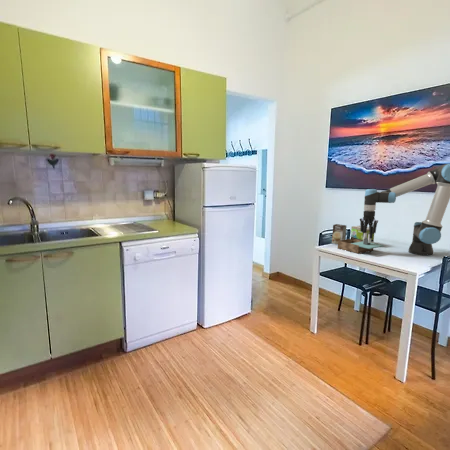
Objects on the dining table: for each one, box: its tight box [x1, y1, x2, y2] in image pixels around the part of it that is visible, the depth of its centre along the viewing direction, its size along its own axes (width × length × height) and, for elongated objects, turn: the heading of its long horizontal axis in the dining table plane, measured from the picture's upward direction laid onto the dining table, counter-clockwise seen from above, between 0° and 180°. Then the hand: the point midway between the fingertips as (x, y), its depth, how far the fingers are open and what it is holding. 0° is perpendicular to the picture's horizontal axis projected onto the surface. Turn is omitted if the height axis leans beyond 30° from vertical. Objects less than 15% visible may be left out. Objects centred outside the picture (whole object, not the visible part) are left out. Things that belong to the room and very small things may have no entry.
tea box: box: [350, 225, 375, 243], centre depth 234 cm, size 15×10×15 cm, turn 25°
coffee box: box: [331, 223, 347, 245], centre depth 236 cm, size 9×6×16 cm
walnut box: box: [337, 238, 374, 254], centre depth 217 cm, size 18×18×6 cm
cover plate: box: [350, 238, 385, 249], centre depth 209 cm, size 16×16×5 cm
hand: (367, 242), depth 209 cm, fingers closed on cover plate, 3 cm apart
